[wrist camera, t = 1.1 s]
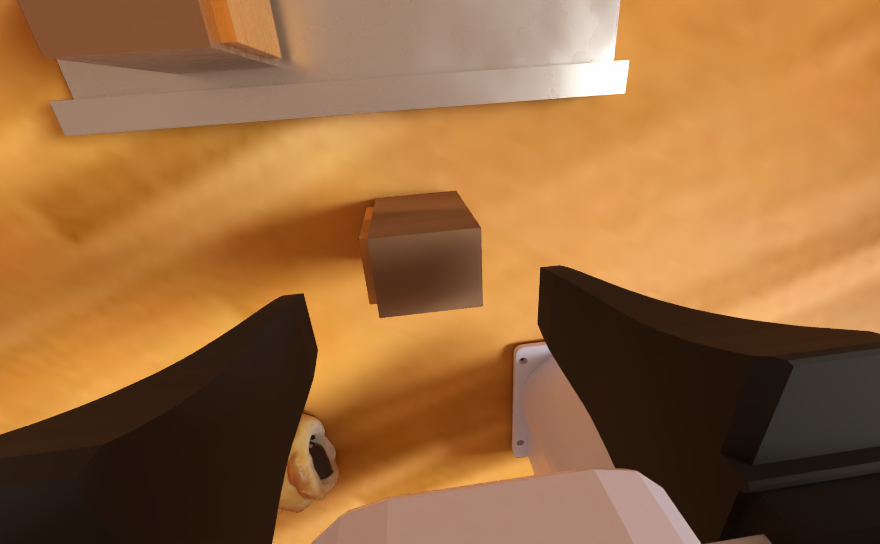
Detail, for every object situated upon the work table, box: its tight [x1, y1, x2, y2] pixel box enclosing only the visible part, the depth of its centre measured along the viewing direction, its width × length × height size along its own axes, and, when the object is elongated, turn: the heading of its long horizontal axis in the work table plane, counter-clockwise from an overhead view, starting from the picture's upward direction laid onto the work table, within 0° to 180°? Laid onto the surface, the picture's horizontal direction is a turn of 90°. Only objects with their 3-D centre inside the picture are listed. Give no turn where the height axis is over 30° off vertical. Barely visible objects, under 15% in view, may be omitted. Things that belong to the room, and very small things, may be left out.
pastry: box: [277, 413, 339, 515], centre depth 23 cm, size 9×7×4 cm
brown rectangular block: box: [358, 191, 483, 318], centre depth 16 cm, size 3×4×6 cm
